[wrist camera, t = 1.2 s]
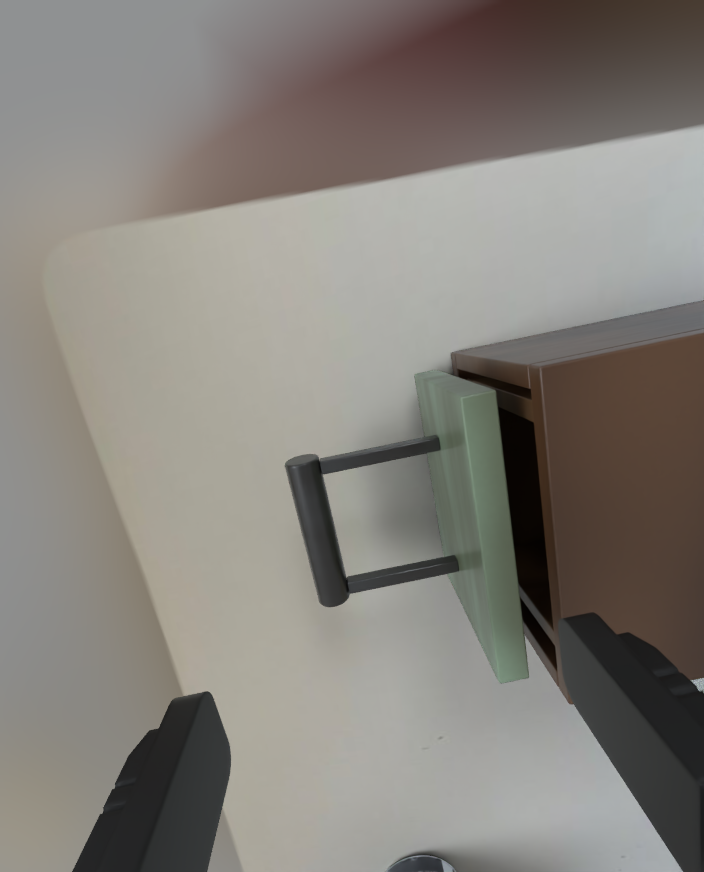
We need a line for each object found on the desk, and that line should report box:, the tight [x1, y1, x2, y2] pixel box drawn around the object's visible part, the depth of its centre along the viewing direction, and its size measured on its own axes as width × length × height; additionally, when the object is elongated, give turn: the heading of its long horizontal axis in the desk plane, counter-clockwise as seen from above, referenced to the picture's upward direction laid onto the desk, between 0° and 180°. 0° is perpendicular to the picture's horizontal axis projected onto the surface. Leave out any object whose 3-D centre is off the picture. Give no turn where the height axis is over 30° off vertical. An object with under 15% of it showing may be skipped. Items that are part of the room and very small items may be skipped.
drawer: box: [285, 370, 555, 683], centre depth 18 cm, size 20×11×8 cm, turn 101°
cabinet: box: [451, 300, 704, 704], centre depth 18 cm, size 15×13×10 cm
